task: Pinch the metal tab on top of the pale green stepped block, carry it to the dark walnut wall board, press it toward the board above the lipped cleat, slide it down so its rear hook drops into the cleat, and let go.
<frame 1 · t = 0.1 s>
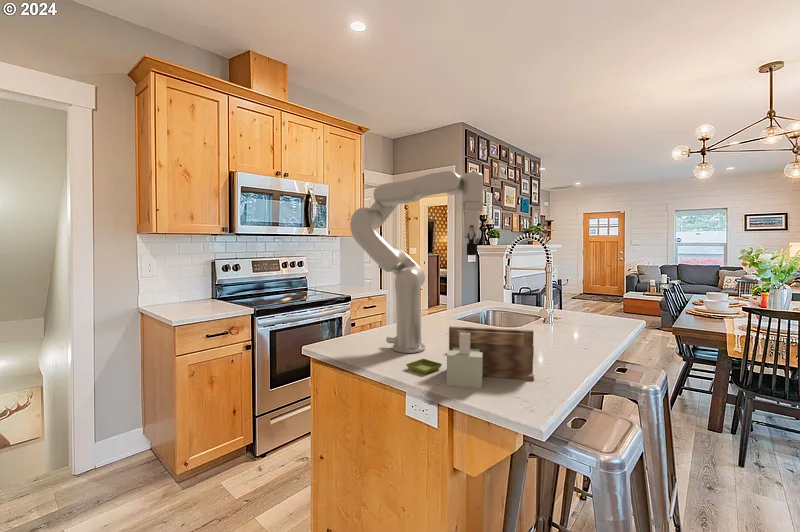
hand: (472, 254, 146), 37 cm above the worktop, tool pointing down, fingers open, 9 cm apart
pale green stepped block: (464, 383, 117), on the worktop
wall board: (489, 371, 127), on the worktop
wall plaque: (490, 355, 147), on the worktop
olive green square tray: (424, 370, 130), on the worktop
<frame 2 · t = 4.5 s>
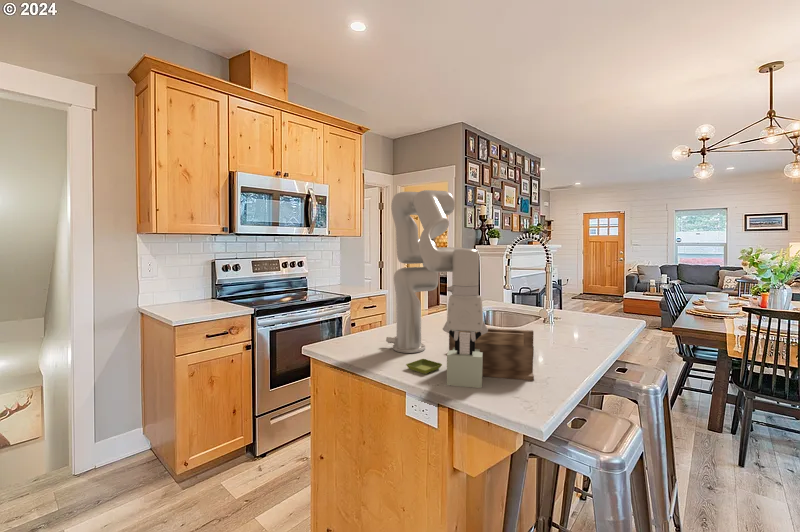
hand: (464, 352, 117), 9 cm above the worktop, tool pointing down, fingers closed on pale green stepped block, 3 cm apart
pale green stepped block: (464, 383, 117), on the worktop, touching gripper
everything else where it was.
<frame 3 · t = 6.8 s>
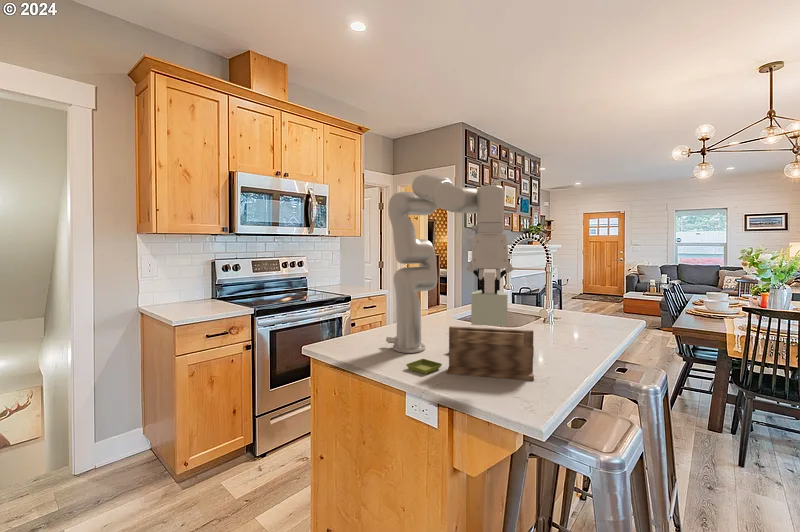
hand: (489, 292, 116), 27 cm above the worktop, tool pointing down, fingers closed on pale green stepped block, 3 cm apart
pale green stepped block: (489, 323, 116), point 18 cm above the worktop, touching gripper
everything else where it was.
when the fingers open (15 cm above the worktop, at t = 9.4 s): pale green stepped block stays where it is, resting on wall board.
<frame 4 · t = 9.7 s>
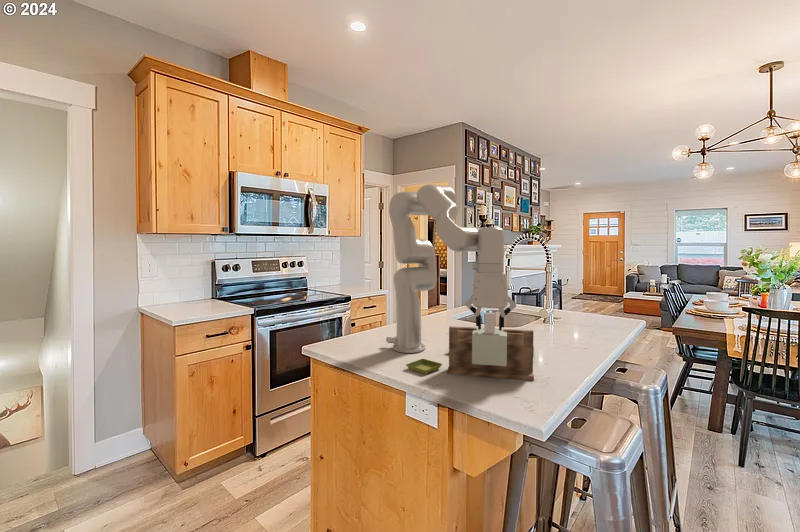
hand: (489, 328, 119), 16 cm above the worktop, tool pointing down, fingers open, 5 cm apart
pale green stepped block: (489, 362, 120), point 5 cm above the worktop, touching wall board
everything else where it was.
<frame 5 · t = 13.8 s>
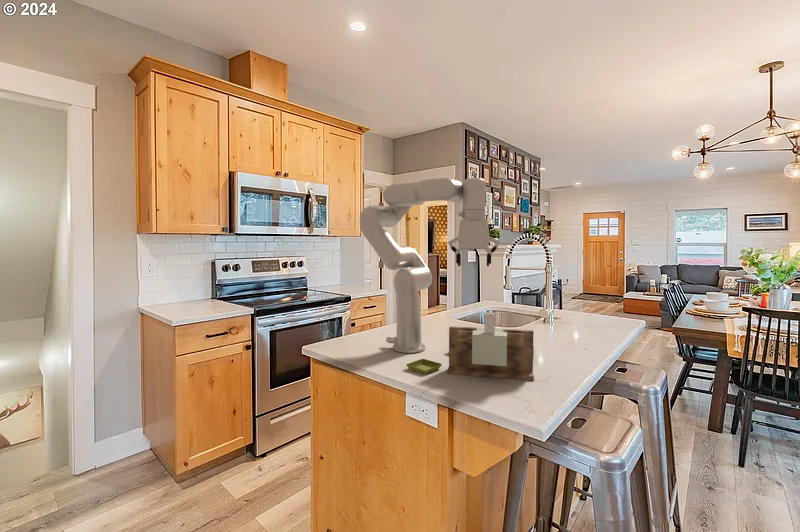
hand: (473, 265, 136), 33 cm above the worktop, tool pointing down, fingers open, 9 cm apart
nothing on the worktop moved.
at the end: pale green stepped block 0.4 cm from the target spot on the wall board, point 5.3 cm above the wall board's base; pale green stepped block tilted 2°; the gripper is holding nothing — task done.
